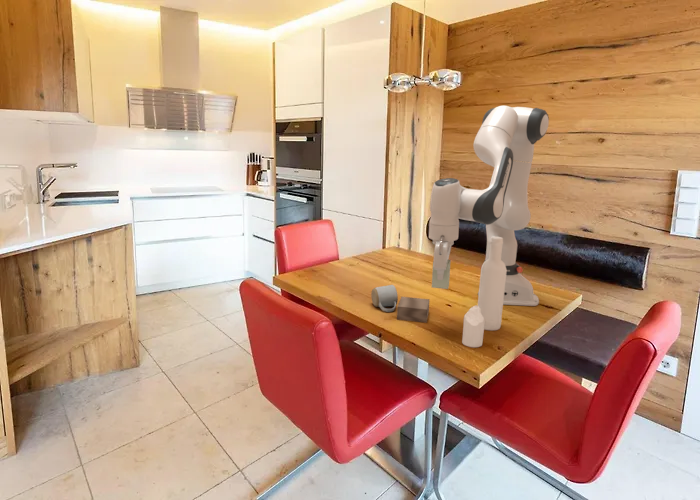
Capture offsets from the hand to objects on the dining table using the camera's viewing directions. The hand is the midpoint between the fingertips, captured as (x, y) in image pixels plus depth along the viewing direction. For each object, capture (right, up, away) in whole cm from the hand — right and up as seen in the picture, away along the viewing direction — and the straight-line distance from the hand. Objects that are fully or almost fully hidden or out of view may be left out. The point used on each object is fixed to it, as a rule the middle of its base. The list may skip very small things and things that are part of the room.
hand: (441, 276), depth 133 cm
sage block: (0, -3, +1) cm, 3 cm away
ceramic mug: (-15, -13, +23) cm, 31 cm away
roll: (+8, -20, -4) cm, 22 cm away
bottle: (+17, -17, +8) cm, 26 cm away
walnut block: (-6, -15, +16) cm, 23 cm away
